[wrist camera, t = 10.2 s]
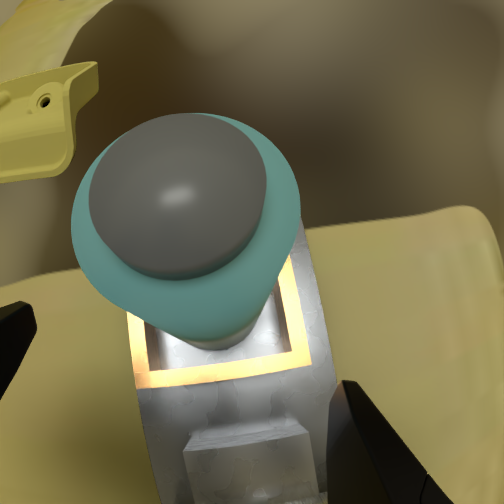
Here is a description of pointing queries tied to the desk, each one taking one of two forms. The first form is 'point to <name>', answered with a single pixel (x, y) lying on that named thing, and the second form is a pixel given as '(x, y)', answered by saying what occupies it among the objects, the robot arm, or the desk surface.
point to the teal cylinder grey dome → (188, 225)
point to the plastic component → (42, 120)
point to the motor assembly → (242, 402)
